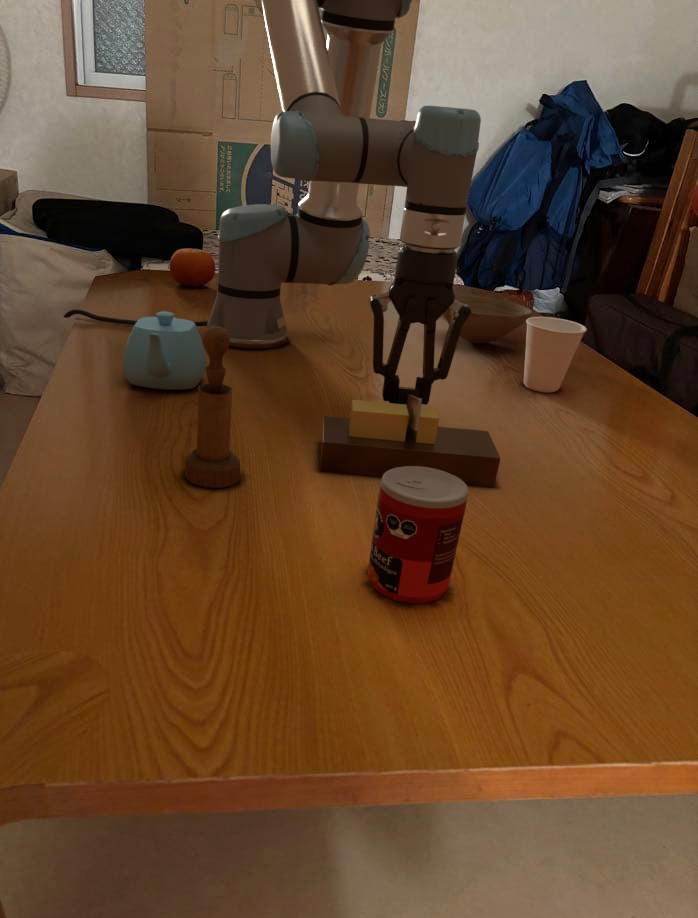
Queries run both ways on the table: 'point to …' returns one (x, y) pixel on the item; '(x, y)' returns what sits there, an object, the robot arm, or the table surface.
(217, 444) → the mortar and pestle
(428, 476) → the canned food
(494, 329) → the bowl
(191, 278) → the fruit
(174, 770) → the table surface
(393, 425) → the butter
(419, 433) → the butter slice
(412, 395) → the knife
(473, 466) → the board
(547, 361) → the cup
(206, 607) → the table surface
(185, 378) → the teapot
